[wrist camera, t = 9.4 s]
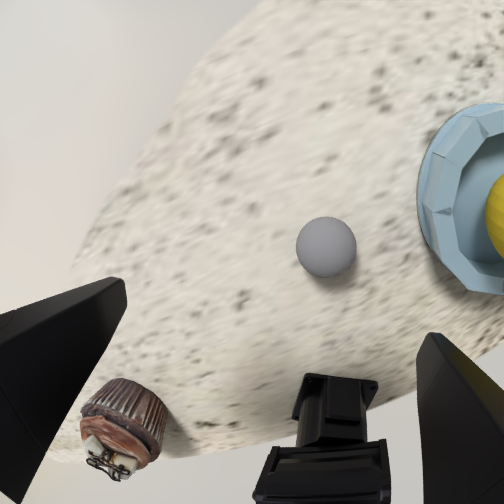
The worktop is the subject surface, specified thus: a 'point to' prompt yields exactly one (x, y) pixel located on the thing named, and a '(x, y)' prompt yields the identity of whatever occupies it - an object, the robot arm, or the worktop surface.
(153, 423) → the cupcake
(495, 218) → the lemon
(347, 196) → the worktop surface
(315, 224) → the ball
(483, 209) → the dish
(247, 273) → the worktop surface
